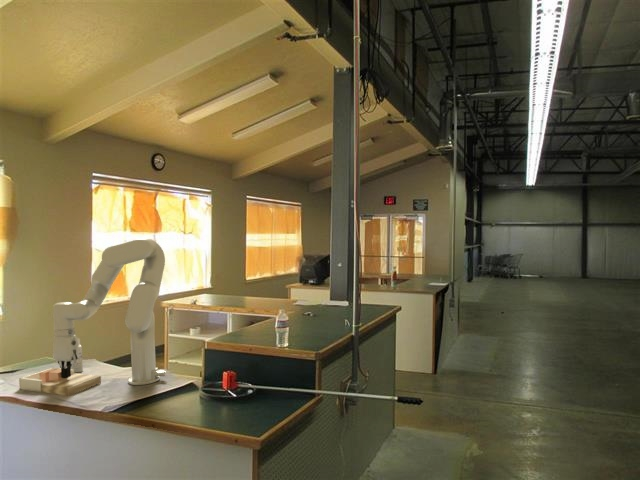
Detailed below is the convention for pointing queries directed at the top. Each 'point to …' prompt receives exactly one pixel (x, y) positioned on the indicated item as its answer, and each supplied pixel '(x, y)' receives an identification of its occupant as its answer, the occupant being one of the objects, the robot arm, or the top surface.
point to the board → (70, 384)
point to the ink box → (78, 360)
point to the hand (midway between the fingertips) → (66, 377)
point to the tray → (33, 381)
